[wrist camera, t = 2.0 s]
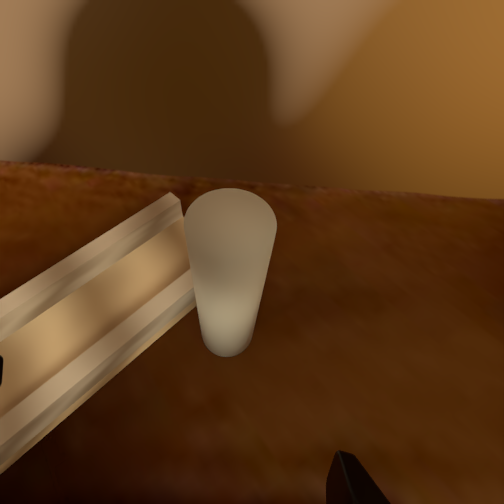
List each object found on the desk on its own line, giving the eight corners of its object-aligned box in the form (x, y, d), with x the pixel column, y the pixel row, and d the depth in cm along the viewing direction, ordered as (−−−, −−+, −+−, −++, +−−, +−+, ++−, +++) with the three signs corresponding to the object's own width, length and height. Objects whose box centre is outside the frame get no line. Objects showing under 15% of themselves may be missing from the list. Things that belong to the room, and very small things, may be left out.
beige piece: (226, 368, 22) (230, 280, 11) (191, 331, 23) (163, 220, 12) (263, 331, 23) (295, 223, 13) (227, 298, 24) (231, 175, 14)
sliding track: (-33, 502, 17) (-77, 509, 15) (-88, 393, 20) (-134, 383, 17) (237, 270, 26) (238, 249, 23) (175, 215, 28) (170, 191, 26)
